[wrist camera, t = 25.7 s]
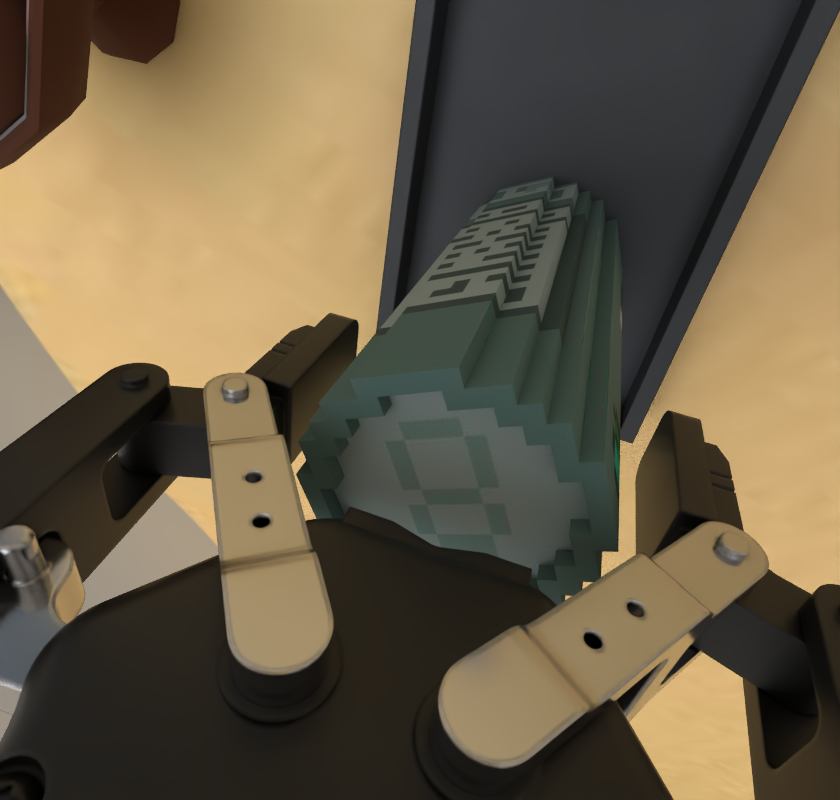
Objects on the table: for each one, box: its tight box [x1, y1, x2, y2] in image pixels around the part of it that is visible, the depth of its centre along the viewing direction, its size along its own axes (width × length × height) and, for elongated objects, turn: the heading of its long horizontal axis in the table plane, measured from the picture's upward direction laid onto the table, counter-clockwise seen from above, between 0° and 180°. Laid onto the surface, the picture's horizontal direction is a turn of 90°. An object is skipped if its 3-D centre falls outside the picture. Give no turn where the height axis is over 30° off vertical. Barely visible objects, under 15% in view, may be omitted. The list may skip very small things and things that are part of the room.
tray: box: [376, 0, 840, 443], centre depth 19 cm, size 12×26×2 cm, turn 171°
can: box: [296, 176, 623, 605], centre depth 17 cm, size 6×6×15 cm
